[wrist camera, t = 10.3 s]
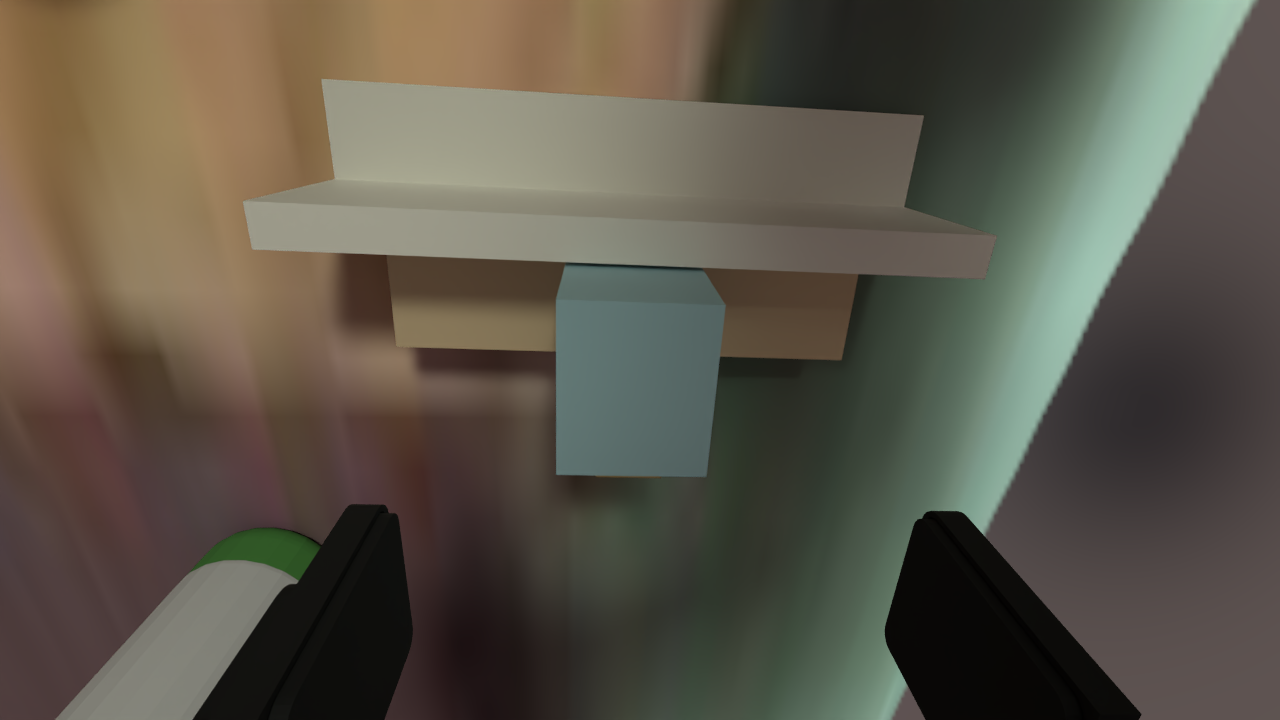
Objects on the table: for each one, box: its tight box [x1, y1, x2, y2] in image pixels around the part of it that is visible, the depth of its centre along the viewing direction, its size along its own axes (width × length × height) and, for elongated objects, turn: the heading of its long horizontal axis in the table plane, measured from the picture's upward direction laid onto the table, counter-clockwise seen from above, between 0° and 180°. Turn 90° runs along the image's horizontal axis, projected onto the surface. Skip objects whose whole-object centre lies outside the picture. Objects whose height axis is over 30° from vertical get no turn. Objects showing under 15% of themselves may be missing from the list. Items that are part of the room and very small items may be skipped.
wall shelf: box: [243, 79, 997, 360], centre depth 25 cm, size 11×26×8 cm, turn 87°
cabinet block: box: [556, 262, 726, 478], centre depth 22 cm, size 7×5×8 cm
